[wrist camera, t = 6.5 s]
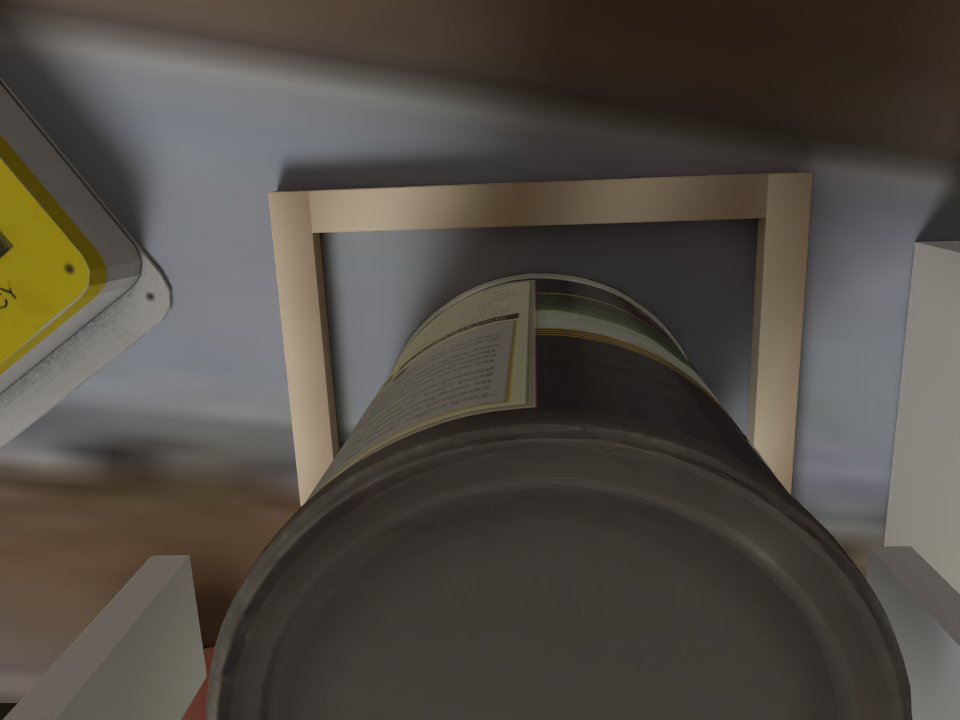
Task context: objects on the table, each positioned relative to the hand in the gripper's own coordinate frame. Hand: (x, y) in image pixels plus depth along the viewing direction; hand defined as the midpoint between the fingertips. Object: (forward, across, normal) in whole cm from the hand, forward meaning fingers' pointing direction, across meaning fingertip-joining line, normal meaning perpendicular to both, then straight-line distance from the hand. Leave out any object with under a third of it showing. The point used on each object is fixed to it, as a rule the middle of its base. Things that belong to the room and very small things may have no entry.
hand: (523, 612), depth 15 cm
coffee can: (+10, -1, 0) cm, 10 cm away
